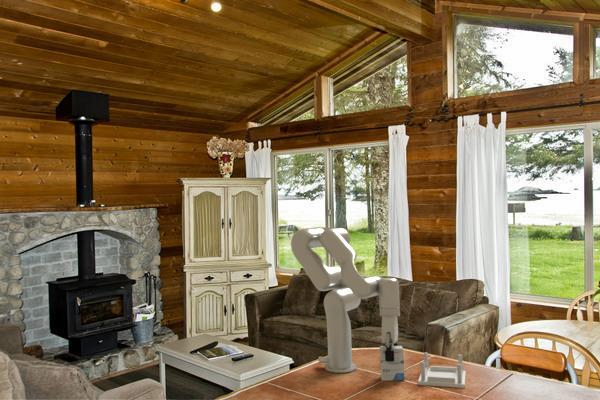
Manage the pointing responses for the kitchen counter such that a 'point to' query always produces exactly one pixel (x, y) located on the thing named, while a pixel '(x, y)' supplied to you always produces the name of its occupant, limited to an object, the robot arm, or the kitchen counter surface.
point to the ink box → (392, 364)
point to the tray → (442, 374)
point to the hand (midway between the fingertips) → (391, 357)
